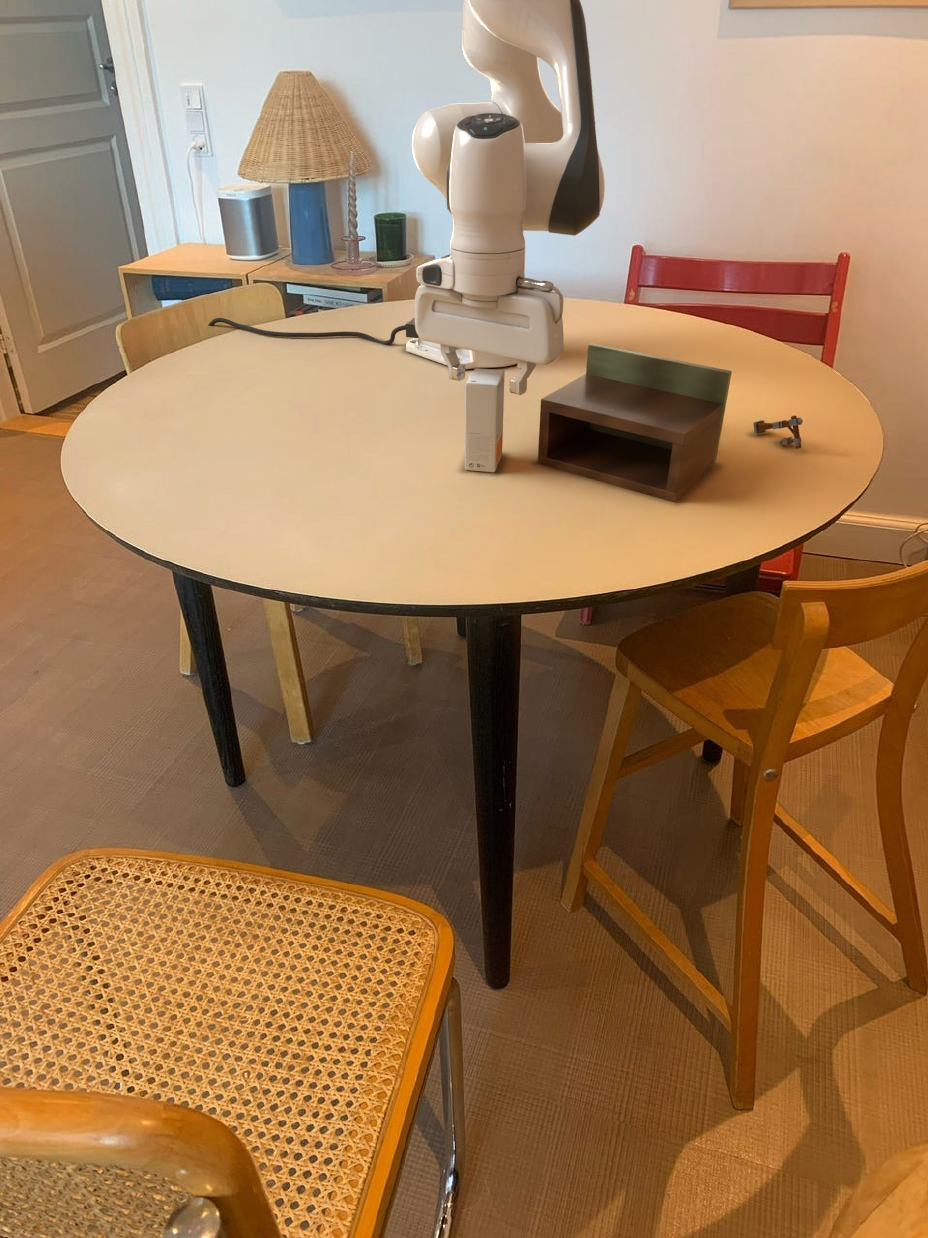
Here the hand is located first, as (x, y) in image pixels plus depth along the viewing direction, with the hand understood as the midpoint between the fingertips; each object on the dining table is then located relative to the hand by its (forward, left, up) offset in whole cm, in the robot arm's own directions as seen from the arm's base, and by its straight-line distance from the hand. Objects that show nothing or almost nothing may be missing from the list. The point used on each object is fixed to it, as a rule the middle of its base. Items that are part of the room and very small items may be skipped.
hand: (486, 385), depth 111 cm
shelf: (+16, +10, -11) cm, 22 cm away
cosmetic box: (0, 0, -11) cm, 11 cm away
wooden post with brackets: (+30, +30, -11) cm, 44 cm away
